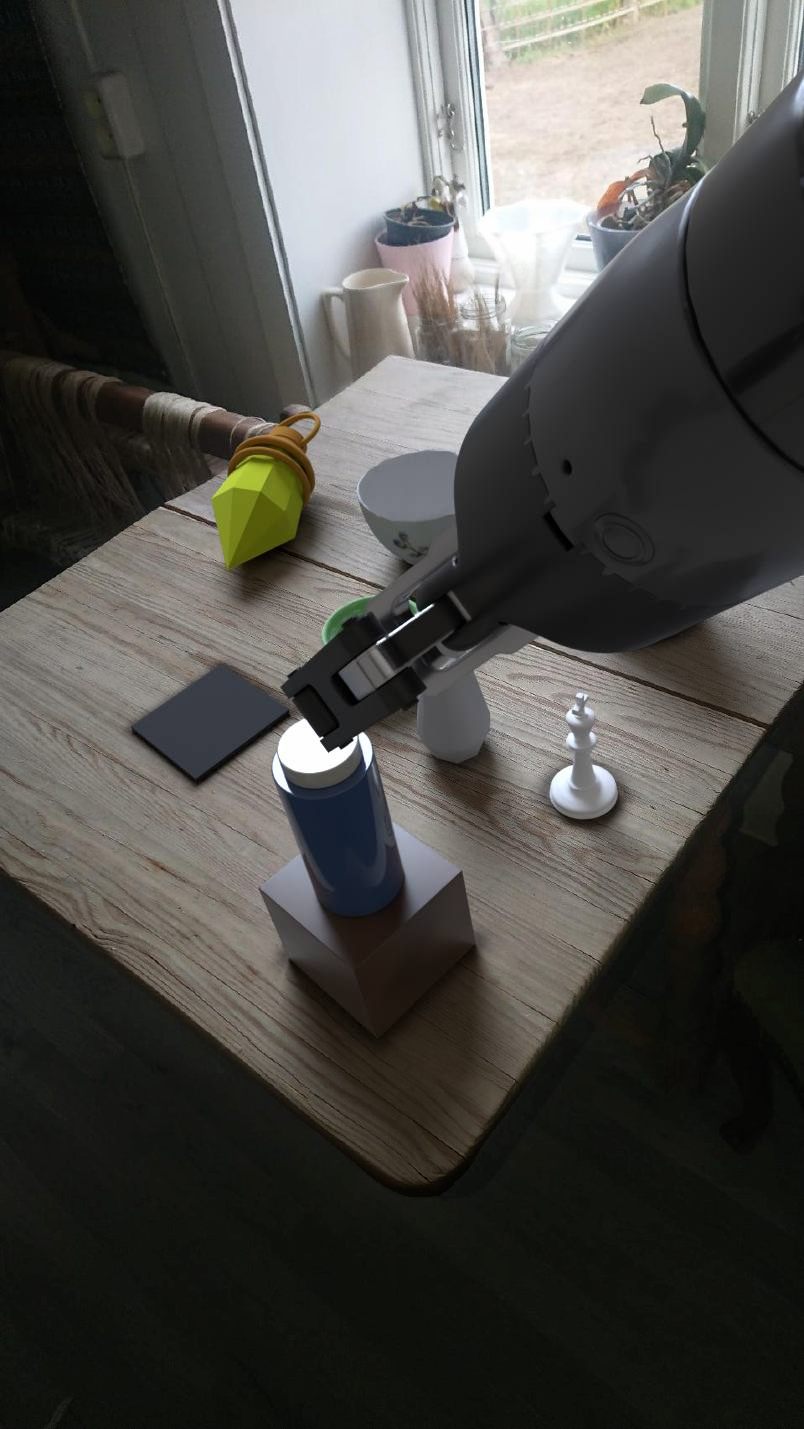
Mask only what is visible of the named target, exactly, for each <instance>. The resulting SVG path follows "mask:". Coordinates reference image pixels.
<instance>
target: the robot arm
mask: <svg viewBox="0 0 804 1429" xmlns="http://www.w3.org/2000/svg"><path fill="white" fill-rule="evenodd" d="M454 508H455V517H456V521H455V522H454V523H453V524H451V525H450V526H449V527H448V528H446V529H445V530H444V531H443V532H441V533H440V534H439V535H438V536H436V537H435V538H434V539H433V540H432V541H431V543H430V546H429V550H428V554H427V555H426V556H425V557H424V558H423V559H422V560H420V561H419V562H418V563H417V564H415V565H412V566H411V567H410V568H409V569H408V570H406V571H405V572H404V573H402V574H401V575H400V576H399V577H397V578H396V579H395V580H393V581H392V582H391V583H390V584H388V585H387V586H386V587H385V588H383V589H382V590H380V591H379V592H378V593H377V594H375V595H376V596H375V597H373V598H372V599H371V600H370V601H369V602H368V603H367V605H366V607H365V614H364V615H363V616H361V617H360V618H359V616H358V615H357V614H355V615H354V616H352V617H351V618H349V619H348V620H347V621H345V622H344V623H343V624H342V625H341V627H342V628H343V630H342V631H341V632H340V633H338V634H337V635H336V636H335V637H334V638H333V639H332V640H330V641H329V642H328V643H327V644H326V645H325V646H324V645H323V646H322V647H321V649H319V650H318V651H317V652H316V653H315V654H314V655H313V656H312V657H311V658H309V660H307V661H306V663H304V664H303V665H302V666H299V667H297V668H295V669H293V671H291V672H289V674H287V675H286V678H287V679H286V681H285V682H284V683H283V684H282V685H280V686H279V688H280V689H281V691H282V692H283V694H284V695H285V696H286V698H287V699H288V701H289V700H291V702H292V704H293V705H294V706H295V707H296V709H297V710H298V712H299V713H300V714H301V716H303V719H306V721H307V722H308V724H309V725H310V726H311V728H312V729H313V730H314V732H315V733H316V734H317V736H318V737H319V738H321V737H323V738H322V739H321V740H320V743H321V744H322V745H323V747H324V748H325V749H326V751H327V752H328V753H329V752H331V751H333V750H334V749H336V748H338V747H339V748H340V750H342V749H344V748H345V747H346V746H348V745H349V744H350V743H352V742H353V741H354V739H353V738H354V737H356V736H357V735H359V734H361V733H362V732H364V733H365V731H367V730H369V729H371V728H372V727H373V726H374V727H375V725H377V724H378V723H380V722H382V721H384V720H385V719H387V718H389V717H390V716H392V715H393V714H395V713H396V712H398V711H399V710H401V712H402V713H406V712H407V711H408V710H410V709H411V708H413V707H414V706H416V705H418V702H419V699H418V695H420V694H422V695H424V696H428V697H433V696H437V695H438V694H440V693H441V692H443V691H444V690H446V689H447V688H449V687H450V686H452V685H453V684H454V683H456V682H457V681H459V680H460V679H462V678H463V677H465V676H466V675H468V674H469V673H471V672H472V671H473V670H474V671H475V670H476V669H478V668H480V667H481V666H483V665H484V664H486V663H487V662H488V661H490V660H491V659H493V658H494V657H496V656H497V655H513V654H515V653H517V652H519V651H520V650H522V649H523V648H524V647H526V646H528V645H529V644H531V643H532V642H534V641H535V640H537V639H538V638H539V637H540V638H543V639H545V640H547V641H549V642H551V643H554V644H557V645H559V646H562V647H565V648H567V649H571V650H575V651H580V652H585V653H593V654H606V655H607V654H618V653H619V654H621V653H627V652H632V651H636V650H640V649H642V648H645V647H649V646H651V645H654V644H655V643H657V642H660V641H661V640H665V639H667V638H666V637H668V638H670V637H669V636H671V635H673V634H675V633H677V632H679V633H681V632H683V631H684V630H686V629H688V628H690V627H693V626H695V625H698V624H699V623H701V622H704V621H706V620H708V619H710V618H712V617H715V616H716V615H719V614H722V613H723V612H726V611H728V610H730V609H732V608H735V607H737V606H738V605H741V604H743V603H745V602H748V601H749V600H751V599H753V598H754V599H755V598H756V597H758V596H760V595H763V594H765V593H767V592H769V591H771V590H774V589H776V588H777V587H780V586H782V585H784V584H787V583H789V582H791V581H794V580H795V579H797V578H800V577H802V576H804V66H802V68H801V69H800V70H799V71H798V72H797V73H796V75H795V76H794V77H793V78H792V79H791V80H790V81H789V83H788V84H787V85H786V86H785V87H784V88H783V89H782V90H781V92H779V94H778V95H777V96H775V98H774V99H773V101H771V103H769V105H767V107H766V108H765V109H764V110H763V111H762V112H761V113H760V115H759V116H758V117H757V118H756V119H755V120H754V121H753V123H752V124H751V125H750V126H749V127H748V128H747V129H746V130H745V131H744V132H743V133H742V134H741V136H740V137H739V138H738V140H737V141H735V143H734V144H733V145H732V146H731V147H730V148H729V150H727V151H726V153H725V154H724V155H723V156H722V157H721V158H720V160H719V161H718V162H716V163H715V164H714V165H713V166H712V167H711V169H709V170H708V172H706V173H705V174H704V175H703V176H702V177H701V178H700V179H699V180H698V182H696V184H694V185H693V186H692V187H691V188H689V190H687V191H686V192H685V193H684V194H683V195H682V196H680V197H679V198H677V199H676V201H674V202H673V203H672V204H670V205H669V206H668V207H666V208H665V209H664V210H663V211H662V212H660V213H659V214H658V215H657V216H655V217H654V219H653V220H651V221H650V222H649V223H647V225H645V226H644V227H643V228H642V229H641V230H640V231H639V232H638V233H637V234H636V235H634V236H633V237H632V238H631V239H630V241H628V243H626V244H625V245H624V247H623V248H622V249H621V250H620V251H619V252H618V253H617V254H616V255H615V256H614V257H613V258H612V259H611V260H610V261H609V262H608V263H607V264H606V266H605V267H604V268H603V270H602V271H600V273H599V274H598V275H597V276H596V277H595V279H594V280H593V281H592V282H591V284H590V285H589V286H588V287H587V288H586V289H585V290H584V291H583V292H582V294H581V295H580V296H579V297H578V298H577V300H576V301H575V302H573V305H572V306H571V307H570V308H569V309H568V310H567V311H566V312H565V314H563V316H562V317H561V318H560V319H559V320H558V322H556V323H555V324H554V326H553V327H552V328H551V330H550V331H549V332H547V334H546V335H545V336H544V337H543V339H541V341H540V342H539V343H538V344H537V346H535V348H534V349H533V350H532V351H531V352H530V353H529V354H528V355H527V357H526V358H525V359H524V360H523V361H522V363H521V364H520V365H519V366H518V367H517V369H515V371H514V372H513V373H511V375H510V376H509V377H508V379H507V380H506V381H505V382H504V383H503V385H502V386H501V387H499V389H498V390H497V391H496V393H495V394H494V395H493V396H492V397H491V398H490V399H489V400H488V402H487V403H486V404H485V405H484V407H483V408H482V409H481V410H480V411H479V412H478V414H477V415H476V416H475V418H474V420H473V421H472V423H471V424H470V426H469V428H468V430H467V432H466V433H465V436H464V437H463V439H462V443H461V445H460V447H459V451H458V458H457V463H456V469H455V477H454ZM415 591H416V592H415ZM413 592H415V598H414V599H415V601H414V603H415V604H416V607H417V610H418V612H419V614H417V615H416V616H414V615H413V613H412V612H411V610H410V607H409V600H410V598H411V596H412V594H413ZM682 630H683V631H682ZM680 631H681V632H680ZM671 637H672V636H671ZM664 638H665V639H664ZM439 642H441V644H442V645H443V646H445V647H446V648H447V649H449V650H452V651H456V652H463V651H466V653H465V654H463V655H462V656H460V657H457V658H449V657H447V656H445V655H443V654H442V653H441V652H440V651H439V649H438V648H437V646H436V645H437V644H438V643H439Z"/></svg>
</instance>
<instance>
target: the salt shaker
mask: <svg viewBox="0 0 804 1429" xmlns="http://www.w3.org/2000/svg"><path fill="white" fill-rule="evenodd" d="M417 614H419V612H417V613H416V614H415V615H414V616H416V615H417ZM436 646H437V648H438V649H439V651H440V652H441V653H442V654H443V655H445V656H447V657H449V658H457V657H460V656H462V655H463V654H465V653H466V652H467V651H463V652H456V651H452V650H449V649H447V648H446V647H445V646H443V645H442V644H441V642H439V643H438V644H437V645H436ZM417 698H418V699H419V702H418V703H417V717H416V733H417V735H418V737H419V738H420V740H421V741H422V743H423V744H424V746H425V747H426V748H427V749H428V751H430V752H431V754H432V755H433V756H434V757H435V758H436V759H438V760H443V761H446V762H450V763H452V764H453V763H454V764H461V763H462V762H464V761H466V760H469V759H472V758H474V757H476V756H478V755H479V753H480V750H481V749H482V746H483V744H484V742H485V739H486V738H487V736H488V734H489V733H490V731H491V712H490V709H489V707H488V704H487V702H486V699H485V696H484V693H483V690H482V688H481V687H480V683H479V681H478V678H477V676H476V673H475V670H473V671H472V672H471V673H469V674H468V675H466V676H465V677H463V678H462V679H460V680H459V681H457V682H456V683H454V684H453V685H452V686H450V687H449V688H447V689H446V690H444V691H443V692H441V693H440V694H438V695H437V696H433V697H428V696H424V695H422V694H420V695H418V696H417Z"/></svg>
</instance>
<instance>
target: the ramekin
mask: <svg viewBox="0 0 804 1429" xmlns="http://www.w3.org/2000/svg"><path fill="white" fill-rule="evenodd" d="M376 595H377V594H373V595H369V596H363V597H359V598H357V599H354V600H351V601H349V602H347V603H345V604H343V605H342V606H340V607H338V608H337V609H336V610H335V611H333V612H332V613H331V614H330V615H329V617H328V618H327V620H326V621H325V622H324V625H323V626H322V630H321V642H322V645H323V647H324V646H325V645H326V644H327V643H328V642H329V641H330V640H332V639H333V638H334V637H335V636H336V635H337V634H338V633H340V632H341V631H342V630H343V628H342V627H341V625H342V624H343V623H344V622H345V621H347V620H348V619H349V618H351V617H352V616H354V615H355V614H357V615H358V616H359V618H360V617H361V616H363V615H364V614H365V607H366V605H367V603H368V602H369V601H370V600H371V599H372V598H373V597H375V596H376ZM409 607H410V610H411V612H412V613H413V615H415V614H416V613H417V612H418V610H417V607H416V602H415V601H413V600H411V599H409Z"/></svg>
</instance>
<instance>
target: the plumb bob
mask: <svg viewBox="0 0 804 1429" xmlns="http://www.w3.org/2000/svg"><path fill="white" fill-rule="evenodd" d="M305 419H307V420H308V419H309V420H313V421H314V426H313V428H312V430H310V432H309V433H308V434H307V435H306V436H305V437H304V436H303V435H302V434H301V432H299V431H297V429H295V428H292V427H290V426H289V425H291V424H293V423H295V422H298V421H301V420H305ZM321 426H322V422H321V418H320V417H319V416H318V415H317V414H316V413H313V412H303V413H298V414H295V415H293V416H290V417H287V418H286V419H285V420H283V421H281V422H280V423H278V424H277V425H276V426H275V427H274V428H272V429H271V430H270V431H269V433H268V434H261V435H256V436H252V437H249V438H247V439H245V440H243V441H242V442H241V443H239V445H238V446H237V447H236V449H235V451H234V454H233V456H232V457H231V459H230V461H229V462H228V466H227V474H226V475H227V478H226V479H225V480H224V482H223V483H222V485H221V486H220V487H219V488H218V489H217V491H216V492H215V493H214V495H213V496H212V497H211V499H210V501H211V504H212V505H211V506H212V509H213V514H214V519H215V524H216V527H217V532H218V536H219V541H220V545H221V550H222V555H223V558H224V562H225V567H226V571H229V570H231V569H233V568H236V567H237V566H239V565H242V564H243V563H247V562H248V561H250V560H252V559H254V558H256V557H258V556H260V555H262V554H264V553H266V552H268V551H271V550H272V549H274V548H276V547H279V546H280V545H283V544H285V543H287V542H289V541H292V540H293V539H296V534H297V530H298V526H299V522H300V518H301V513H302V511H303V510H304V509H305V508H306V506H307V505H308V504H309V501H310V497H311V495H312V493H313V492H314V489H315V487H316V474H315V470H314V467H313V465H312V463H311V461H310V458H309V457H308V455H307V451H308V444H309V443H310V442H311V441H313V439H314V438H315V437H316V436H317V434H318V433H319V431H320V428H321Z"/></svg>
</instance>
